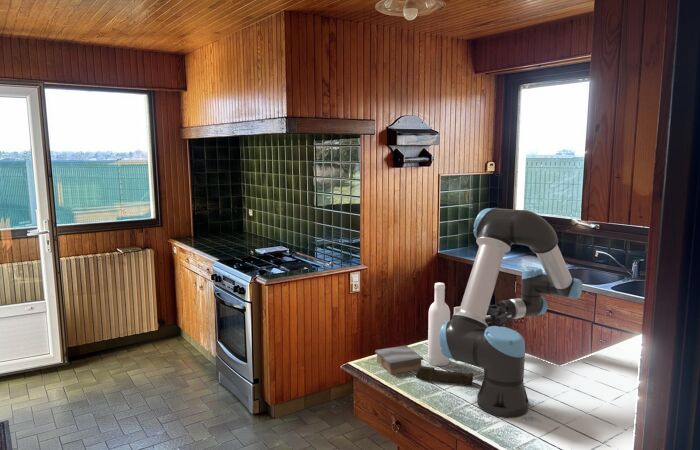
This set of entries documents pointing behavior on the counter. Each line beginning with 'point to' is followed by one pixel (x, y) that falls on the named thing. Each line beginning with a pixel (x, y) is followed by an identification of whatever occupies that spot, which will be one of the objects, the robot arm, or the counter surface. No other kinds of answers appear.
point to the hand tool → (443, 375)
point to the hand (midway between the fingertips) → (464, 315)
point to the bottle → (437, 326)
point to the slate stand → (398, 359)
